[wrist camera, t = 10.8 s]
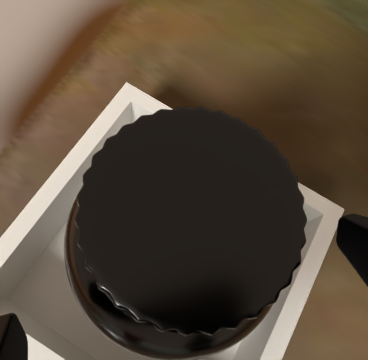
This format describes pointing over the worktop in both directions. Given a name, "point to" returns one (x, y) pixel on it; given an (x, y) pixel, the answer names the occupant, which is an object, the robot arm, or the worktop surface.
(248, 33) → the worktop surface
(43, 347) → the bin
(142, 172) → the supplement bottle
